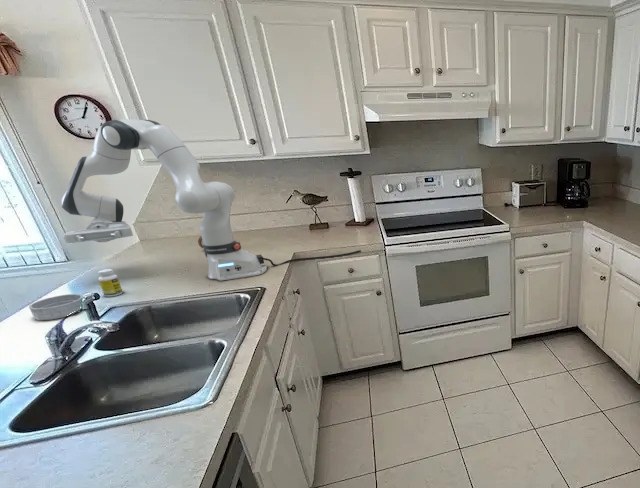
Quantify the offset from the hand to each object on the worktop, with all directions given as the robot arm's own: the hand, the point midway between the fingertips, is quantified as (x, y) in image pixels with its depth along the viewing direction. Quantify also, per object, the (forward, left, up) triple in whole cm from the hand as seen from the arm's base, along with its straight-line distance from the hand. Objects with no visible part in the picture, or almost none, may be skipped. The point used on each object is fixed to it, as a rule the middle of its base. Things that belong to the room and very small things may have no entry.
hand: (97, 237), depth 161 cm
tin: (-25, -50, -20) cm, 60 cm away
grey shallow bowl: (+5, +27, -20) cm, 34 cm away
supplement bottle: (-4, +12, -20) cm, 24 cm away
